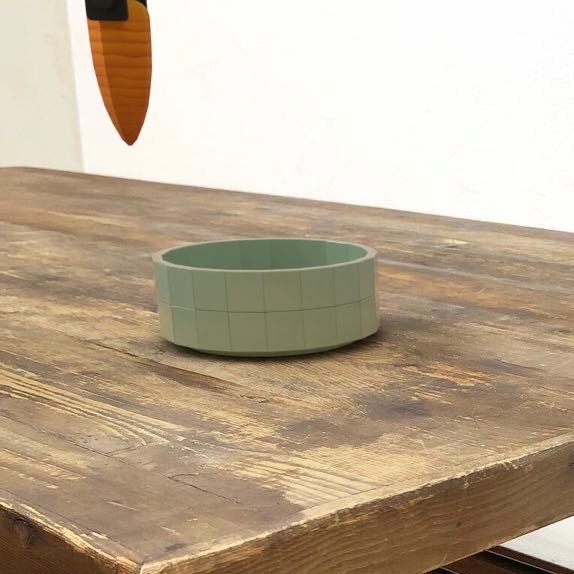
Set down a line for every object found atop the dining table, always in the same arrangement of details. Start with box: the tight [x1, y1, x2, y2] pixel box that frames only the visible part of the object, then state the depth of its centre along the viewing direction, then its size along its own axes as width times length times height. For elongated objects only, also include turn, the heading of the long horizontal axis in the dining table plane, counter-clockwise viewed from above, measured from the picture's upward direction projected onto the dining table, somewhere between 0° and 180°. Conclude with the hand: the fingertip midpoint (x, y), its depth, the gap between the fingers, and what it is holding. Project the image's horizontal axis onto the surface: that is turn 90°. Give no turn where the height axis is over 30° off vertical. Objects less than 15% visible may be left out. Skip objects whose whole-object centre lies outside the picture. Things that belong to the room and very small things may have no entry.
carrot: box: [85, 0, 153, 147], centre depth 101 cm, size 5×5×15 cm
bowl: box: [151, 237, 381, 358], centre depth 81 cm, size 14×14×6 cm
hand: (118, 19), depth 100 cm, fingers closed on carrot, 4 cm apart
